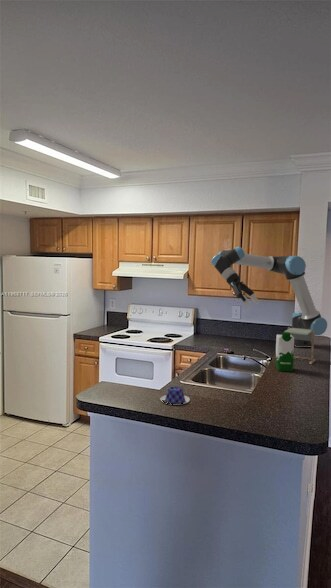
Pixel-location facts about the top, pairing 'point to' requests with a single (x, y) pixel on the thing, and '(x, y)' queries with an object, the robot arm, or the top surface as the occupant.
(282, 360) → the soya milk
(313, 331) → the trapdoor stand
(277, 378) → the top surface
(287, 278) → the robot arm
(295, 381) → the top surface
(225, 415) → the top surface
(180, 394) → the pudding
